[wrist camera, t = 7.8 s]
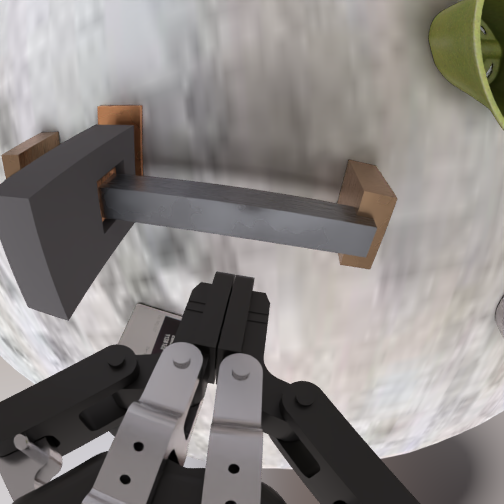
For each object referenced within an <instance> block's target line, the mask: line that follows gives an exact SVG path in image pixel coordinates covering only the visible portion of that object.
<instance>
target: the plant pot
mask: <svg viewBox="0 0 504 504" xmlns="http://www.w3.org/2000/svg"><path fill="white" fill-rule="evenodd" d="M480 25H481V26H482V27H483V28H484V29H485V31H486V34H484V33H483V32H482V31H481V30H480ZM429 44H430V47H431V51H432V55H433V59H434V63H435V65H436V66H437V68H438V70H439V71H440V73H441V74H442V75H443V76H444V77H445V78H446V79H447V80H448V81H449V82H450V83H451V84H453V85H454V86H456V87H457V88H459V89H461V90H462V91H464V92H465V93H467V94H468V95H470V96H471V97H473V98H475V99H476V100H477V101H479V102H480V103H482V104H483V105H484V106H486V107H487V108H489V109H490V111H491V112H492V114H493V115H494V117H495V119H496V120H497V122H498V123H499V125H500V126H501V128H502V129H503V130H504V0H463V1H461V2H459V3H457V4H455V5H452V6H450V7H449V8H447V9H445V10H443V11H442V12H440V13H439V14H438V15H437V16H436V17H435V18H434V20H433V22H432V24H431V27H430V31H429ZM491 64H493V69H492V73H491V75H490V76H489V77H488V78H487V77H486V72H487V71H488V70H489V68H490V66H491Z"/></svg>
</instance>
